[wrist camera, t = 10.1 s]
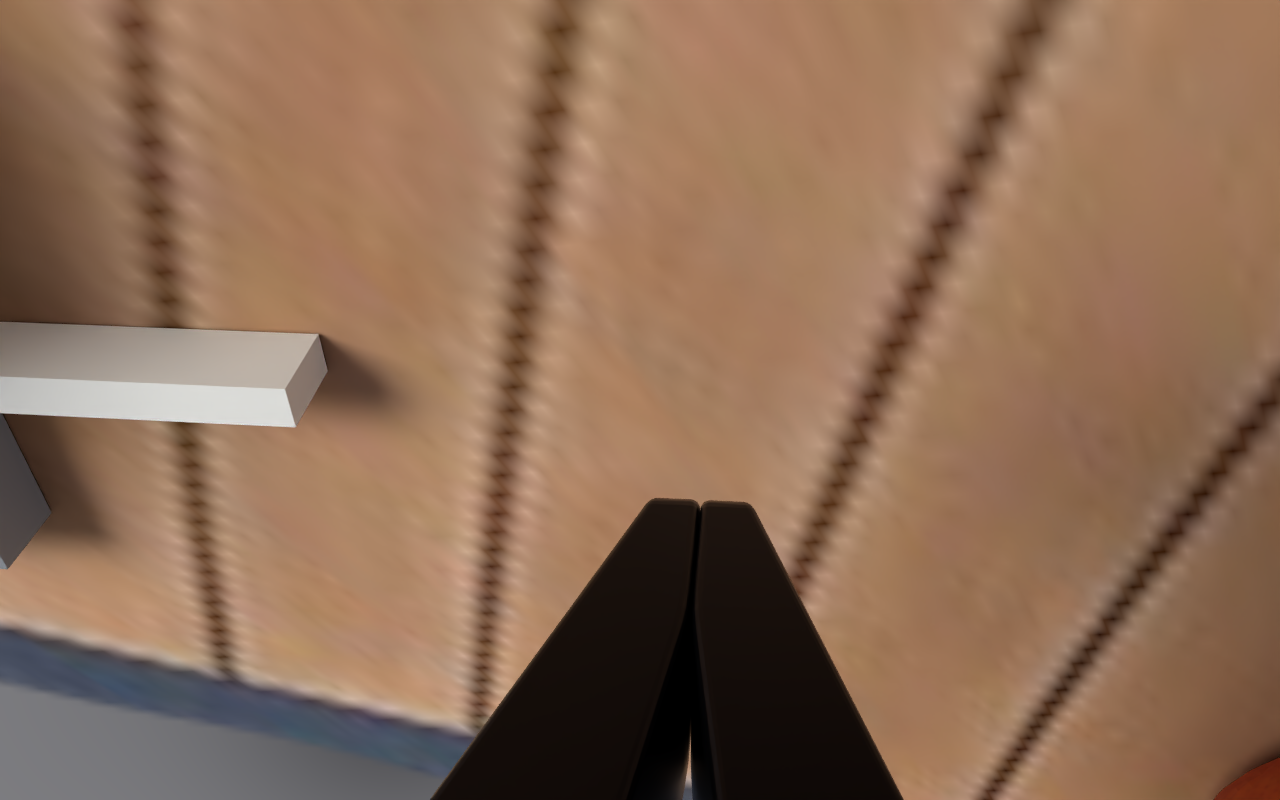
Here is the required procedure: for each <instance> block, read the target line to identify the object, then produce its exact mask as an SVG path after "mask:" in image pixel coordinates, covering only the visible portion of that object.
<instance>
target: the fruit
mask: <svg viewBox="0 0 1280 800" xmlns="http://www.w3.org/2000/svg"><path fill="white" fill-rule="evenodd" d="M1214 800H1280V758H1277V759H1275V760H1273V761H1270V762H1268V763H1266V764H1263V765H1261V766H1259V767H1256V768H1254V769H1252V770H1251V771H1249V772H1247V773H1246V774H1244V775H1243V776H1242V777H1240V778H1238V779H1237V780H1235V781H1234V782H1232V783H1231V784H1230V785H1228V786H1227V787H1225V788H1224V789H1223V790H1222V791H1221V792H1220V793H1219V794H1218V795H1217V796H1216V797H1215V798H1214Z"/></svg>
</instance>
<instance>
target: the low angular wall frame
mask: <svg viewBox="0 0 1280 800" xmlns="http://www.w3.org/2000/svg"><path fill="white" fill-rule="evenodd" d="M327 372H328V370H327V366H326V362H325V358H324V354H323V350H322V346H321V342H320V338H319V334H303V333H278V332H252V331H226V330H201V329H175V328H150V327H124V326H99V325H73V324H47V323H22V322H0V569H8V568H9V567H10V566H11V565H12V563H13V562H14V561H15V559H16V558H17V557H18V556H19V554H20V553H21V552H22V550H23V549H24V548H25V547H26V545H27V544H28V543H29V541H30V540H31V539H32V538H33V536H34V535H35V534H36V532H37V531H38V530H39V529H40V527H41V526H42V525H43V523H44V522H45V521H46V520H47V518H48V517H49V516H50V514H51V511H50V509H49V507H48V505H47V503H46V501H45V499H44V497H43V495H42V493H41V491H40V489H39V487H38V485H37V483H36V481H35V479H34V477H33V475H32V473H31V471H30V469H29V466H28V464H27V462H26V460H25V458H24V456H23V454H22V452H21V450H20V448H19V446H18V444H17V442H16V440H15V438H14V436H13V434H12V432H11V430H10V428H9V426H8V424H7V422H6V420H5V418H4V416H3V414H2V413H8V414H29V415H50V416H70V417H91V418H112V419H133V420H154V421H175V422H196V423H216V424H237V425H258V426H279V427H296V426H297V424H298V423H299V421H300V419H301V417H302V416H303V414H304V412H305V410H306V409H307V407H308V405H309V403H310V401H311V400H312V398H313V396H314V394H315V393H316V391H317V389H318V387H319V386H320V384H321V382H322V380H323V379H324V377H325V375H326V373H327Z"/></svg>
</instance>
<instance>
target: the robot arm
mask: <svg viewBox="0 0 1280 800" xmlns="http://www.w3.org/2000/svg"><path fill="white" fill-rule="evenodd" d="M690 738H691V779H692V799H693V800H904V799H903V797H902V796H901V794H900V792H899V790H898V788H897V786H896V784H895V782H894V780H893V778H892V776H891V774H890V772H889V770H888V768H887V766H886V764H885V762H884V760H883V759H882V757H881V755H880V753H879V751H878V749H877V747H876V745H875V743H874V741H873V739H872V737H871V735H870V733H869V731H868V729H867V727H866V725H865V723H864V721H863V720H862V718H861V716H860V714H859V712H858V710H857V708H856V706H855V704H854V702H853V700H852V698H851V696H850V694H849V692H848V690H847V688H846V686H845V684H844V683H843V681H842V679H841V677H840V675H839V673H838V671H837V669H836V667H835V665H834V663H833V661H832V659H831V657H830V655H829V653H828V651H827V649H826V647H825V646H824V644H823V642H822V640H821V638H820V636H819V634H818V632H817V630H816V628H815V626H814V624H813V622H812V620H811V618H810V616H809V614H808V612H807V610H806V609H805V607H804V605H803V603H802V601H801V599H800V597H799V595H798V593H797V591H796V589H795V587H794V585H793V583H792V581H791V579H790V577H789V575H788V573H787V572H786V570H785V568H784V566H783V564H782V562H781V560H780V558H779V556H778V554H777V552H776V550H775V548H774V546H773V544H772V542H771V540H770V538H769V536H768V535H767V533H766V531H765V529H764V527H763V525H762V523H761V521H760V519H759V517H758V515H757V513H756V511H755V510H754V508H753V507H752V506H751V505H750V504H748V503H746V502H732V501H712V500H710V501H706V502H704V503H703V504H702V506H701V510H700V506H699V504H698V503H697V502H696V501H694V500H691V499H669V498H654V499H652V500H650V501H649V502H648V503H647V504H646V505H645V506H644V508H643V509H642V510H641V512H640V513H639V514H638V516H637V517H636V518H635V520H634V521H633V523H632V524H631V525H630V527H629V528H628V529H627V531H626V532H625V533H624V535H623V536H622V538H621V539H620V540H619V542H618V543H617V544H616V546H615V547H614V549H613V550H612V551H611V553H610V554H609V555H608V557H607V558H606V559H605V561H604V562H603V564H602V565H601V566H600V568H599V569H598V570H597V572H596V573H595V575H594V576H593V577H592V579H591V580H590V581H589V583H588V584H587V585H586V587H585V588H584V590H583V591H582V592H581V594H580V595H579V596H578V598H577V599H576V600H575V602H574V603H573V605H572V606H571V607H570V609H569V610H568V611H567V613H566V614H565V616H564V617H563V618H562V620H561V621H560V622H559V624H558V625H557V626H556V628H555V629H554V631H553V632H552V633H551V635H550V636H549V637H548V639H547V640H546V642H545V643H544V644H543V646H542V647H541V648H540V650H539V651H538V652H537V654H536V655H535V657H534V658H533V659H532V661H531V662H530V663H529V665H528V666H527V667H526V669H525V670H524V672H523V673H522V674H521V676H520V677H519V678H518V680H517V681H516V683H515V684H514V685H513V687H512V688H511V689H510V691H509V692H508V693H507V695H506V696H505V698H504V699H503V700H502V702H501V703H500V704H499V706H498V707H497V709H496V710H495V711H494V713H493V714H492V715H491V717H490V718H489V719H488V721H487V722H486V724H485V725H484V726H483V728H482V729H481V730H480V732H479V733H478V734H477V736H476V737H475V739H474V740H473V741H472V743H471V744H470V745H469V747H468V748H467V750H466V751H465V752H464V754H463V755H462V756H461V758H460V759H459V760H458V762H457V763H456V765H455V766H454V767H453V769H452V770H451V771H450V773H449V774H448V776H447V777H446V778H445V780H444V781H443V782H442V784H441V785H440V787H439V788H438V789H437V791H436V792H435V793H434V795H433V796H432V797H431V799H430V800H682V798H683V793H684V787H685V781H686V774H687V768H688V761H689V749H690Z"/></svg>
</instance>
